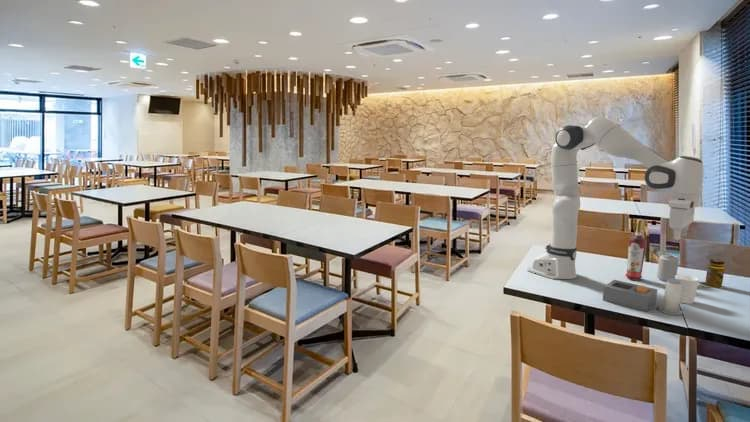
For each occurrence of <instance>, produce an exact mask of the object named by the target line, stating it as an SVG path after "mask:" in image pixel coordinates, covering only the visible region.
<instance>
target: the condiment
mask: <svg viewBox="0 0 750 422" xmlns="http://www.w3.org/2000/svg"><path fill="white" fill-rule="evenodd" d="M724 273H725V261H724V260H723V259H722V260H721V259H717V258H710V259H709V263H708V265H707V268H706V276H705V281H698V285H701V286H702V287H703V288H712V289H722V290H726V288H725V287H723V282H724V275H725V274H724Z"/></svg>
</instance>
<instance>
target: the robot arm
mask: <svg viewBox="0 0 750 422" xmlns="http://www.w3.org/2000/svg"><path fill="white" fill-rule="evenodd" d="M554 136H555V139H554V141H555V143H554V144H553V145H552V148H551V154H550V170H551V183H552V187H553V193H554V201H553V203H552V208H551V236H550V243H549V244H547V245H546V246H545V247H544V248H545V250H546V251H545V252H543V253H541V254H539V255H537V256H536V257H534V259H533V261H532V264H531V265H529V266H528V267H527V269H526V270H527V272H529V273H533V274H535V273H536V275H540V276H542V277H545V278H549V279H551V280H573V279H577V270H576V258H577V238H578V237H577V236H578V219H579V218H578V217H579V210H580V208H581V197H580V196H581V195H580V186H579V175H578V161H577V154H578V152H579V151H580V150H581V151H585V150H586V149H588V148H591V147H593V146H595V145H596V146H597V147H598V148H600V149H601V150H602V151H603V152H605V153H606V154H609V155H610V156H613V157H616V158H617V157H618V158H625V159H630V160H634V161H636V162H637V163H640V164H642V165H643V166H645V167H646V168H647V170H646V171H645V173H644V182H645V184H646V185H647V187H649V188H650V189H653V190H658V191H659V190H661V191H662V190H671V194H670V198H669V201H668V208H669V217H668V218H669V221H668V225H669V228H670V229H673V240H675V241H679V240H681V237H685V236H687V233H688V230H689V225H690V224H693V222H694V218H695V208H699V207H700V202H701V201H700V200H701V196H702V195H701V193H702V192H701V186H702V184H703V179H704V162H703V161H702V160H701V158H698V157H693V156H687V155H681V156H678V157H677V158H675V159H672V160H668V159H666V158H665V157H664V156H661V155H660V154H659V153H657V152H656V151H654V150H653V149H651V148H649V147H648V146H646V145H645V144H643V143H642V142H641V141H639V140H638V139H637V138H636V137H634V136H633V135H632V134H630V133H629V132H628V131H627V130H626V129H624V128H623V127H621V126H620V125H618V124H617V123H615V122H614V121H612V120H610V119H608V118H606V117H604V116H595V117H593V118H592V119H590V120H589V122H587V123H576V124H569V125H565V126H562V127H560V128H559V129H558V130H557V131H556V133H555V135H554Z"/></svg>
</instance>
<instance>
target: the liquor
mask: <svg viewBox="0 0 750 422" xmlns="http://www.w3.org/2000/svg"><path fill="white" fill-rule="evenodd" d="M644 222H645V221H644V220H641V219H636V227H635V228H636V230H635V232H634V233H635V234H634V236H631V237H630V238H628V246H627V247H628V249H627V267H626V273H625V276H626V278H627V279H628V280H631V281H640V280H641V279H642V278H643V276H642V273H643V266H644V260H645V255H646V249H647V244H648V240H647V239H646V238H644V237H643V226H644Z"/></svg>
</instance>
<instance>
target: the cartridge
mask: <svg viewBox="0 0 750 422" xmlns="http://www.w3.org/2000/svg"><path fill="white" fill-rule="evenodd" d="M681 288H682V283H681V280H679V279H674V278H669V279H668V280H667V281H665V289H664V296H663V303H662V306H663V309H664V310H665V311H669V312H678V309H679V308H680V295H681Z"/></svg>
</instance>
